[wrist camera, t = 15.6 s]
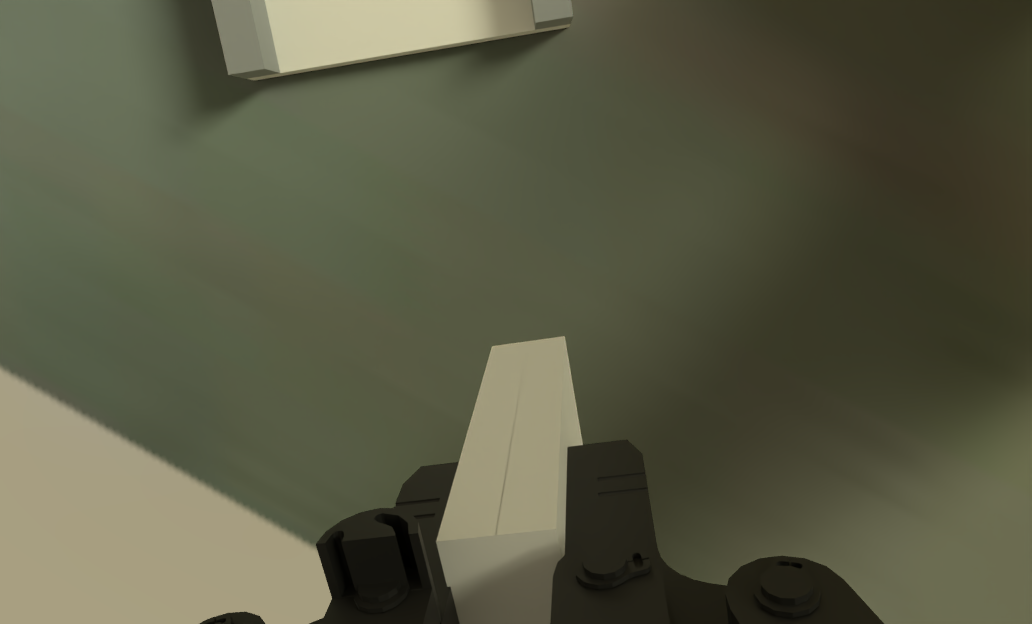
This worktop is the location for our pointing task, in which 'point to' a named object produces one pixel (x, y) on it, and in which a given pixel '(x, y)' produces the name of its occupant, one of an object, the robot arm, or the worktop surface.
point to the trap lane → (366, 29)
